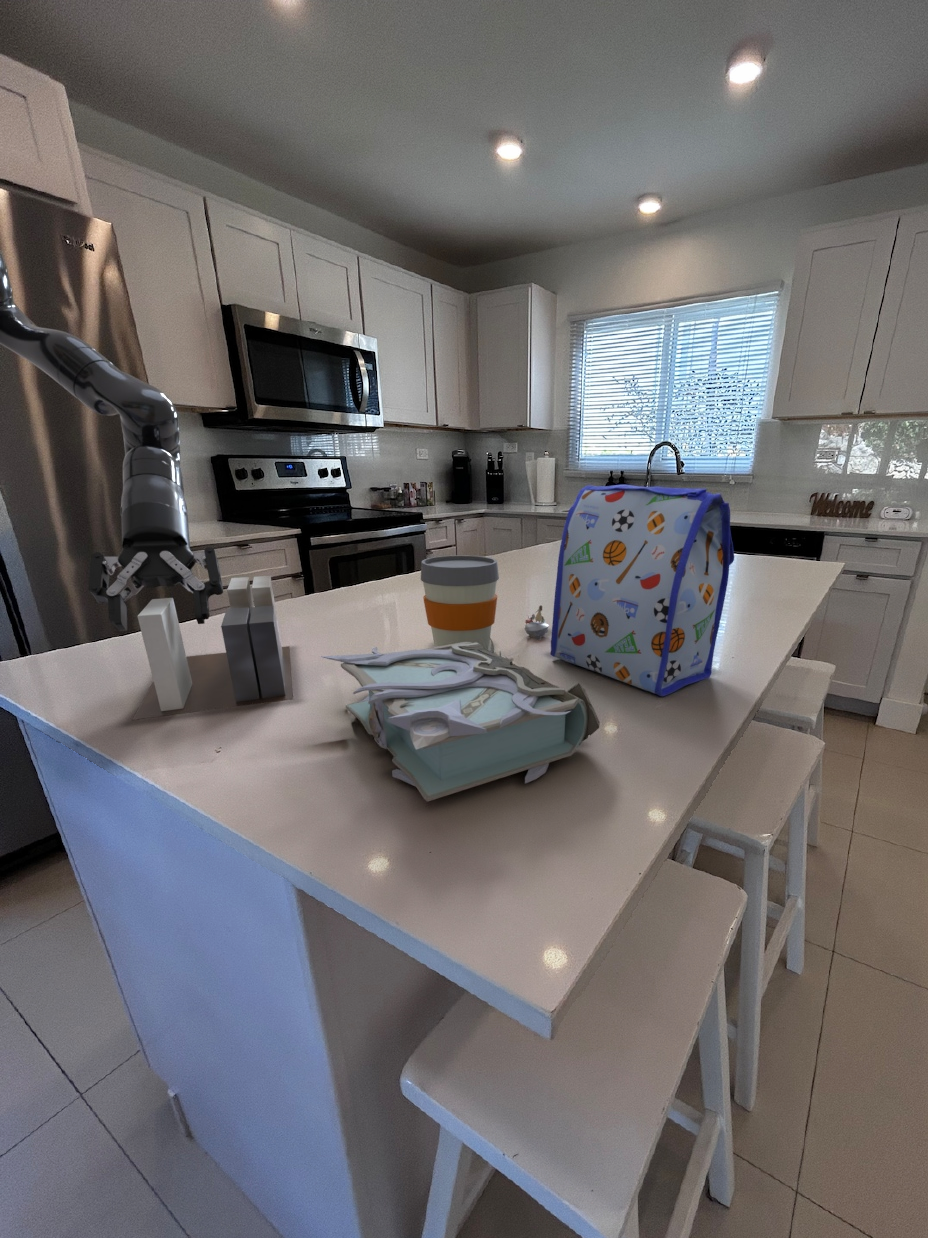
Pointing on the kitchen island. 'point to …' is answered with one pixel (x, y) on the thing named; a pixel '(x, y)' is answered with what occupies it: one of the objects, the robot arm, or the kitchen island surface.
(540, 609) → the figurine
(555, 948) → the kitchen island surface
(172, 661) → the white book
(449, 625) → the reusable coffee cup
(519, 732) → the ornate book
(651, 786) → the kitchen island surface
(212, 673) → the shelf board
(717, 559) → the lunch bag
